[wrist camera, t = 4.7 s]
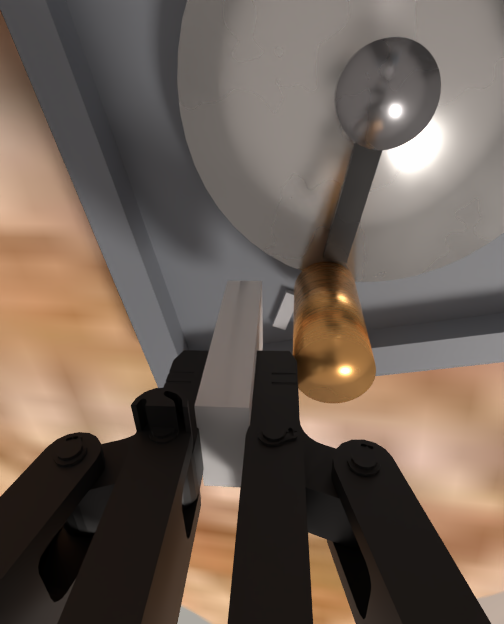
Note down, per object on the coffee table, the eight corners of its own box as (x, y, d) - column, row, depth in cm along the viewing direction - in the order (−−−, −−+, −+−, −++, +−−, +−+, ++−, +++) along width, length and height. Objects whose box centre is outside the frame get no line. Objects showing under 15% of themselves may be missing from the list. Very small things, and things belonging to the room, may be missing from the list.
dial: (116, -53, 13) (-13, -130, 8) (603, -314, 10) (977, -768, 4) (264, 317, 19) (251, 420, 14) (593, 231, 16) (744, 321, 11)
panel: (-55, -242, 12) (-132, -307, 10) (915, -682, 8) (1144, -955, 6) (176, 365, 23) (163, 399, 21) (651, 306, 19) (698, 340, 17)
